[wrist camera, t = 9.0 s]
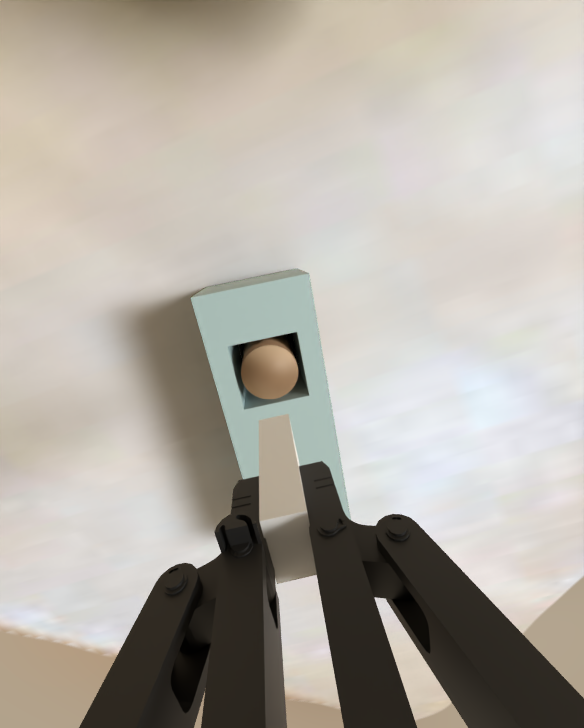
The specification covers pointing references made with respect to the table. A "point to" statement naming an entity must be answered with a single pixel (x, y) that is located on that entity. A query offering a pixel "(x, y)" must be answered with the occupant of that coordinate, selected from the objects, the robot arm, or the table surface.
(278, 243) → the table surface
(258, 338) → the socket board
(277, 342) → the peg
